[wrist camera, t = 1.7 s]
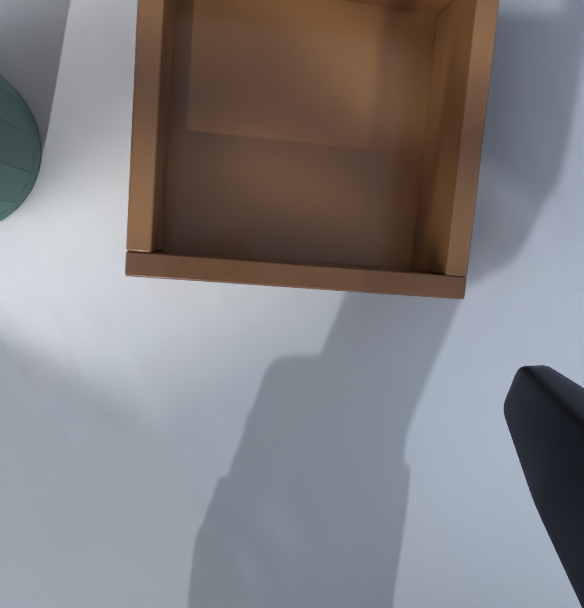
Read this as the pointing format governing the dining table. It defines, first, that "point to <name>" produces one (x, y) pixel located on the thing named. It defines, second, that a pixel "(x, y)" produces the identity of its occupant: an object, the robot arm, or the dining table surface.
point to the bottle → (16, 149)
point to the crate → (309, 142)
